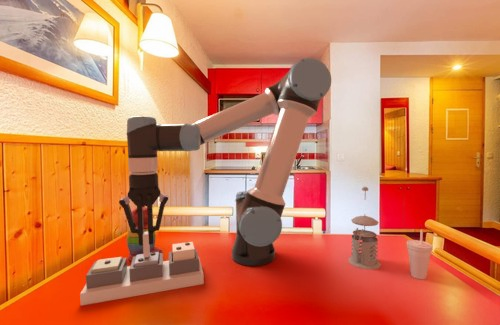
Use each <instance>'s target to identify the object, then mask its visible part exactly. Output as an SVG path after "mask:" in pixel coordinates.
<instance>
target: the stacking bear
mask: <svg viewBox="0 0 500 325" xmlns="http://www.w3.org/2000/svg"><path fill="white" fill-rule="evenodd" d="M131 212H132V215H133V218H134V221H135V224H136V227H137V228H138V216H137V207H135V208H134V209H132V210H131ZM143 226H144V232H148V214H147V206H143ZM156 236H157V235H156V231H155V232H154V233H153V237H154V241H153V244H150V253H154V252H159V253H163V250H162V249H161V247H157V246H155V245H156V244H155V243H156ZM126 245H127V247H128V252H129V254H128V257H127V260H128V261H129V262H131V263H132V259H133V257H135V256H137V255H138V254H143V245H141V246H140V245H139V237H138V234H137V233H131V230H130V227H129V228H128V231H127V236H126Z"/></svg>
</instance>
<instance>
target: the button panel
mask: <svg viewBox="0 0 500 325" xmlns="http://www.w3.org/2000/svg"><path fill="white" fill-rule="evenodd" d="M194 249H195V259H188V260H181V261H174V262H173V251H169V252H168V260H164V254H163V252H162V253H159V264H154V265H147V266H140V267H134V263H135V259H136V256H135V257H133V259H132V262H131V263H130V265H128V262H127V261H128V257H122V263H121V266H120V268H119V270H112V271H105V272H98V273H92V269H93V267H94V265H95V264H96V262H97V261H94V262H93V264H92V266H91V267H90V269H89V270H88V272H87V273H86V275H85V285H84V286H83V289H82V290H81V292H80V293H79V296H80V297H79V298H80V306H86V305H93V304H98V303H103V302H109V301H115V300H119V299H120V300H122V299H125V298H131V297H132V298H133V297H136V296H137V297H138V296H143V295H148V294H154V293H159V292H164V291H165V292H166V291H171V290H177V289H184V288H188V287H194V286H200V285H204V284H205V282H204V278H205V276H204V272H203V271H204V270H203V267H202V264H201V260H200V257H199V254H198V251H197V248H195V247H194Z"/></svg>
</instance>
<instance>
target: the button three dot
mask: <svg viewBox="0 0 500 325" xmlns="http://www.w3.org/2000/svg"><path fill="white" fill-rule="evenodd" d="M154 264H159V252H154V253H150V256H149V257H146V258H144V255H143V254H138V255H137V256H136V259H135V263H134V267H140V266H147V265H154Z"/></svg>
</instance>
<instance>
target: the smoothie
mask: <svg viewBox="0 0 500 325" xmlns="http://www.w3.org/2000/svg"><path fill="white" fill-rule="evenodd" d="M423 231H424V229H422V228H421V229H420V231H419V232H420V235H419V236H420V237H419V240H418V239H408V240H407V241H406V247H407V252H408V262H409V270H410V276H411V277H413V278H414V279H417V280H426V279H427V275H428V269H429V265H430V264H429V263H430V258H431V253H432V251H433V249H434V247H433V245H432V244H431V243H430V242H427V241H424V240H423V239H424V238H423V237H424V236H423V235H424V232H423Z"/></svg>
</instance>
